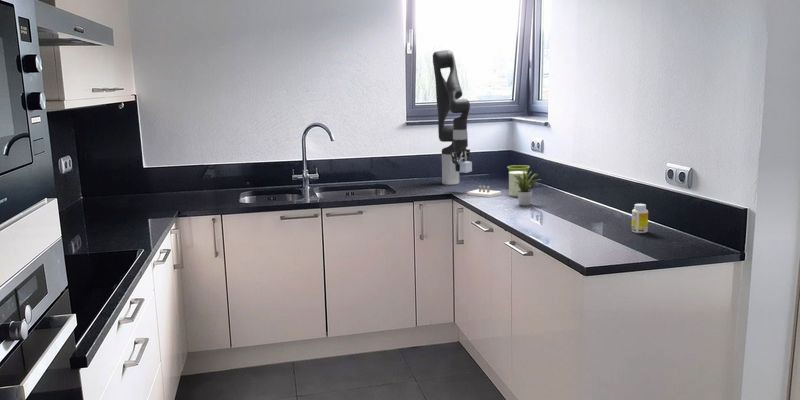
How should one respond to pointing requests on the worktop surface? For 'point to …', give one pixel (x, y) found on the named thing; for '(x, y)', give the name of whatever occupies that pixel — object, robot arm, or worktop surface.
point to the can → (512, 179)
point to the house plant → (525, 188)
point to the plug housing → (462, 166)
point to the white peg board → (484, 192)
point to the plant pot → (518, 168)
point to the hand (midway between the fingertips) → (461, 170)
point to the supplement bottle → (640, 218)
